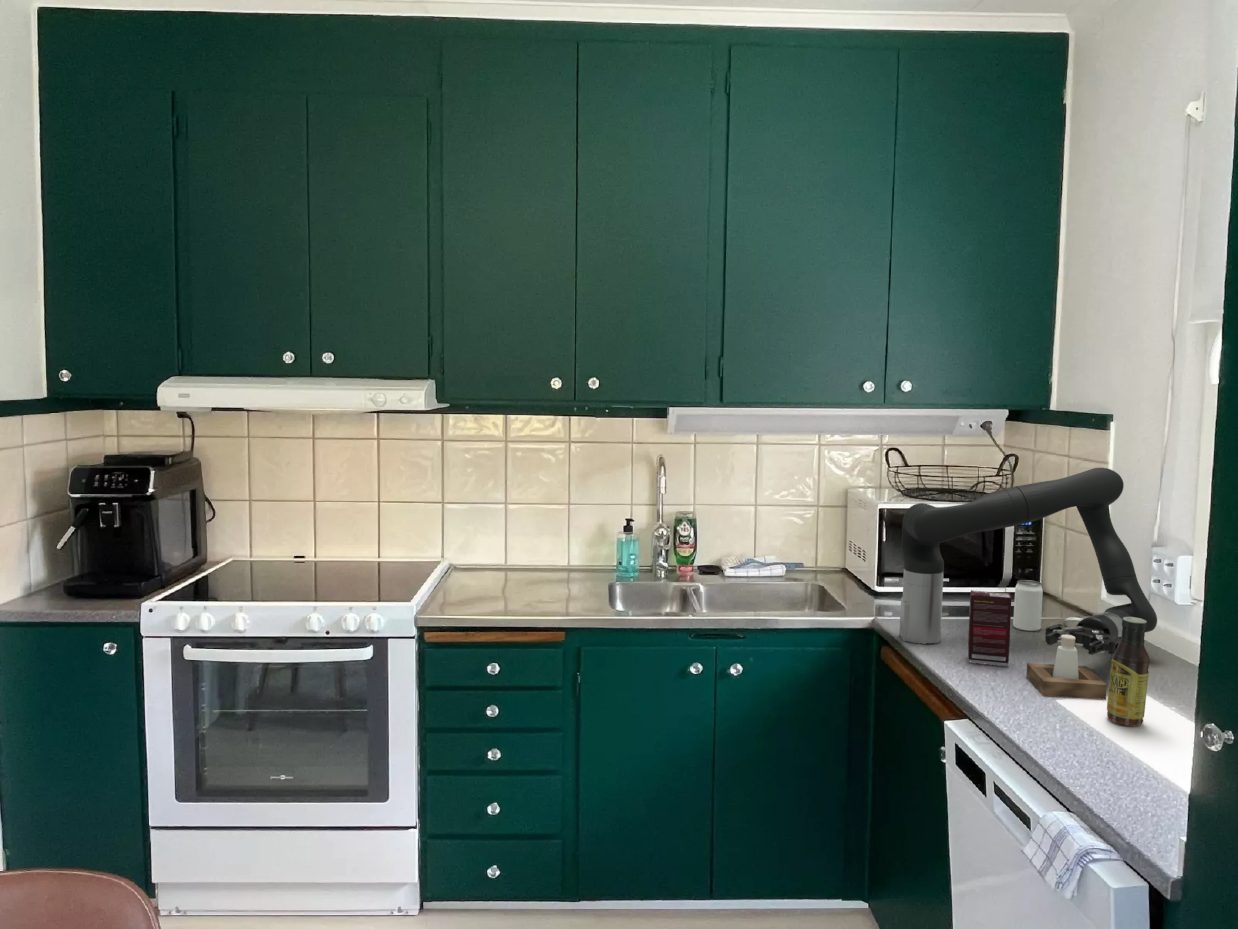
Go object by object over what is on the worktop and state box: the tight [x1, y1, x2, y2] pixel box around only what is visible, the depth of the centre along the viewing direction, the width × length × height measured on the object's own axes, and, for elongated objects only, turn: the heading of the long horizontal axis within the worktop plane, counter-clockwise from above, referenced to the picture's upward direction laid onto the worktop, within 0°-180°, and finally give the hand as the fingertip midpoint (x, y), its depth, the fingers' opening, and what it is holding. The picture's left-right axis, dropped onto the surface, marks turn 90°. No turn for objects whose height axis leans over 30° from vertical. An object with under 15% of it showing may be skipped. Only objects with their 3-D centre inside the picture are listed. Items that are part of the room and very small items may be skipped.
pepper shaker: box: [1052, 635, 1079, 679], centre depth 192 cm, size 5×5×11 cm
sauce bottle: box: [1106, 617, 1150, 727], centre depth 173 cm, size 6×6×20 cm
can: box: [1012, 579, 1044, 632], centre depth 238 cm, size 6×6×12 cm
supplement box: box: [967, 589, 1012, 668], centre depth 209 cm, size 9×5×16 cm, turn 71°
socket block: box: [1025, 662, 1108, 700], centre depth 193 cm, size 12×12×3 cm
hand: (1069, 644), depth 192 cm, fingers open, 8 cm apart
